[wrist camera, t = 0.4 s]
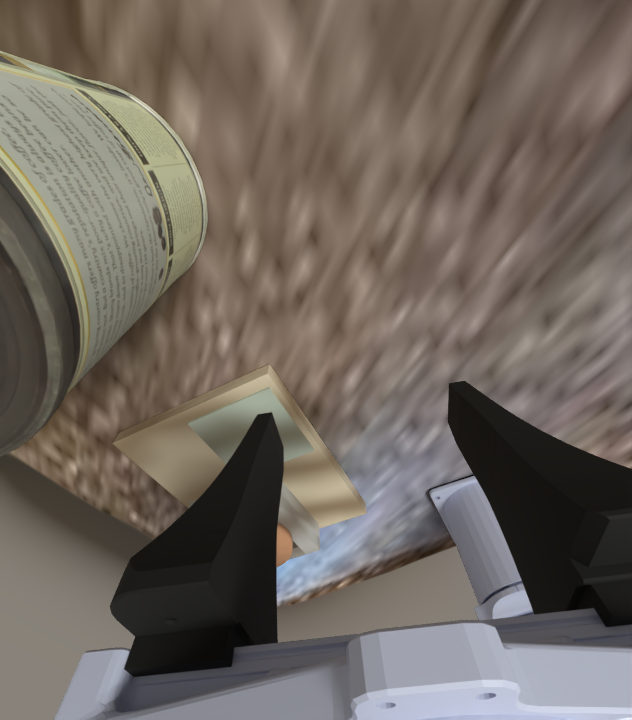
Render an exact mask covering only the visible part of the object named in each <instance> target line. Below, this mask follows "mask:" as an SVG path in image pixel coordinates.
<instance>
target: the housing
mask: <svg viewBox="0 0 632 720" xmlns="http://www.w3.org/2000/svg"><path fill="white" fill-rule="evenodd" d="M269 412H272V414H273V417H274V420H275V423H276V426H277V429H278V432H279V435H280V438H281V441H282V444H283V447H284V472H283V482H282V490H281V499H280V507H279V515H278V523H279V524H281V525H283V526H284V527H285V528H286V529H288V531H289V532H290V533H291V535H292V539H293V547H292V554H291V557H290V558H289V559H292V558H296V557H299V556H302V555H305V554H309V553H312V552H315V551H318V550H320V540H319V529H320V528H323V527H326V526H329V525H332V524H335V523H338V522H341V521H344V520H348V519H351V518H354V517H357V516H360V515H363V514H366V513H367V512H366V506H365V502H364V500H363V499H362V497H361V496H360V494H359V493H358V491H357V490H356V489H355V487H354V486H353V484H352V483H351V481H350V480H349V478H348V477H347V476H346V474H345V473H344V471H343V470H342V468H341V467H340V465H339V464H338V463H337V461H336V460H335V458H334V457H333V455H332V454H331V453H330V451H329V450H328V448H327V447H326V445H325V444H324V442H323V441H322V440H321V438H320V437H319V435H318V434H317V432H316V431H315V429H314V428H313V427H312V425H311V424H310V422H309V421H308V419H307V418H306V416H305V415H304V414H303V412H302V411H301V409H300V408H299V406H298V405H297V403H296V402H295V401H294V399H293V398H292V396H291V395H290V393H289V392H288V390H287V389H286V388H285V386H284V385H283V383H282V382H281V380H280V379H279V377H278V376H277V375H276V373H275V372H274V370H273V369H272V367H271V366H270V364H268V365H266V366H264V367H262V368H260V369H258V370H255V371H253V372H251V373H249V374H247V375H244V376H242V377H240V378H238V379H236V380H233V381H231V382H229V383H227V384H225V385H222V386H220V387H218V388H216V389H214V390H211V391H209V392H207V393H205V394H203V395H200V396H198V397H196V398H194V399H192V400H189V401H187V402H185V403H183V404H181V405H179V406H176V407H174V408H172V409H170V410H168V411H165V412H163V413H161V414H159V415H157V416H154V417H152V418H150V419H148V420H146V421H143V422H141V423H139V424H137V425H135V426H132V427H130V428H128V429H126V430H124V431H121V432H119V434H118V435H117V437H116V438H115V440H114V441H113V443H112V444H113V445H115V446H116V447H117V448H118V449H119V450H120V451H122V452H123V453H124V454H125V455H126V456H127V457H129V458H130V459H131V460H132V461H133V462H134V463H136V464H137V465H138V466H139V467H140V468H142V469H143V470H144V471H145V472H146V473H147V474H149V475H150V476H151V477H152V478H153V479H154V480H156V481H157V482H158V483H159V484H160V485H161V486H163V487H164V488H165V489H166V490H167V491H168V492H170V493H171V494H172V495H173V496H174V497H175V498H177V499H178V500H179V501H180V502H181V503H182V504H184V505H185V506H186V507H187V508H188V509H189V508H190V507H191V506H192V505H193V504H194V502H195V501H196V500H197V499H198V498H199V497H200V496H201V495H202V494H203V493H204V492H205V491H206V490H207V488H208V487H209V486H210V485H211V484H212V482H213V481H214V480H215V479H216V477H217V476H218V475H219V473H220V472H221V471H222V469H223V468H224V467H225V465H226V464H227V462H228V461H229V460H230V458H231V457H232V455H233V454H234V452H235V451H236V449H237V447H238V446H239V444H240V443H241V441H242V440H243V438H244V436H245V435H246V433H247V431H248V429H249V428H250V426H251V424H252V423H253V421H254V419H255V417H256V416H257V415H258V414H263V413H269ZM289 559H288V560H289Z"/></svg>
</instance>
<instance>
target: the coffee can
mask: <svg viewBox="0 0 632 720" xmlns="http://www.w3.org/2000/svg"><path fill="white" fill-rule="evenodd" d="M207 224H208V213H207V202H206V196H205V191H204V187H203V184H202V180H201V177H200V175H199V172H198V170H197V168H196V165H195V163H194V161H193V159H192V157H191V155H190V154H189V152H188V150H187V149H186V147H185V146H184V144H183V142H182V140H181V139H180V137H179V136H178V135H177V134H176V133H175V132H174V131H173V130H172V128H171V127H170V126H169V125H168V124H167V122H166V121H165V120H164V119H163V118H162V117H160V116H159V115H158V114H157V113H156V112H155V111H154V110H153V109H152V108H150V107H149V106H148V105H146V104H145V103H144V102H142V101H141V100H139V99H138V98H136V97H135V96H133V95H131V94H129V93H127V92H126V91H124V90H122V89H119V88H117V87H115V86H112V85H110V84H106V83H104V82H101V81H94V80H89V79H84V78H81V77H77V76H74V75H71V74H68V73H65V72H62V71H59V70H56V69H53V68H50V67H47V66H44V65H40V64H37V63H34V62H31V61H28V60H25V59H22V58H19V57H16V56H13V55H10V54H7V53H4V52H2V51H0V456H3V455H5V454H7V453H9V452H11V451H13V450H15V449H17V448H19V447H20V446H22V445H23V444H24V443H26V442H27V441H28V440H29V439H31V438H32V437H33V436H34V435H35V434H36V433H37V432H38V431H39V430H40V429H41V428H42V427H43V426H44V425H45V424H46V423H47V422H48V420H49V419H50V418H51V416H52V415H53V414H54V413H55V411H56V410H57V409H58V408H59V406H60V404H61V402H62V401H63V399H64V397H65V396H66V394H67V393H68V392H69V391H70V390H71V389H72V388H73V387H74V386H75V385H76V384H77V383H78V382H79V381H80V380H81V379H82V378H83V377H84V376H85V375H86V374H87V373H88V371H89V370H90V369H91V368H92V367H93V366H94V365H95V364H96V363H97V362H98V361H99V360H100V359H101V358H102V357H103V356H104V355H105V354H106V353H107V352H108V351H109V350H110V348H111V347H112V346H113V345H114V344H115V343H116V342H117V341H118V340H119V339H120V338H121V337H122V336H123V335H124V334H125V333H126V332H127V331H128V330H129V329H130V328H131V326H132V325H133V324H134V323H135V322H136V321H137V320H138V319H139V318H140V317H141V316H142V315H143V314H144V313H145V312H146V311H147V310H148V309H149V308H150V307H151V306H152V304H153V303H154V302H155V301H156V300H157V299H158V298H159V297H160V296H161V295H162V294H163V293H164V292H165V291H166V290H167V289H168V288H169V287H170V286H171V285H172V283H173V282H174V281H175V280H176V279H178V278H179V277H180V276H182V275H183V274H184V273H185V272H186V271H187V270H188V269H189V268H190V267H191V265H192V264H193V263H194V261H195V260H196V258H197V256H198V255H199V253H200V251H201V248H202V245H203V243H204V239H205V235H206V230H207Z"/></svg>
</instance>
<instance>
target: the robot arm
mask: <svg viewBox="0 0 632 720" xmlns="http://www.w3.org/2000/svg"><path fill="white" fill-rule="evenodd" d="M448 423H449V426H450V428H451V431H452V434H453V436H454V438H455V441H456V443H457V445H458V447H459V449H460V451H461V453H462V454H463V456H464V458H465V460H466V462H467V463H468V465H469V467H470V469H471V470H472V472H473V474H474V476H472V477H469V478H465V479H462V480H459V481H456V482H453V483H450V484H447V485H444V486H441V487H438V488H435V489H432V490H431V491H430V492H429V493H430V496H431V498H432V500H433V502H434V504H435V506H436V508H437V510H438V512H439V514H440V516H441V518H442V520H443V522H444V524H445V526H446V528H447V529H448V531H449V533H450V535H451V537H452V539H453V541H454V542H455V544H456V546H457V548H458V551H459V554H460V556H461V559H462V562H463V564H464V567H465V569H466V572H467V575H468V577H469V580H470V583H471V585H472V588H473V590H474V593H475V596H476V598H477V601H478V603H479V606H477V607H475V608H474V609H475V612H476V615H477V618H478V620H459V621H450V622H441V623H432V624H422V625H413V626H404V627H395V628H386V629H378V630H373V631H369V632H364V633H361V634H354V635H345V636H335V637H326V638H318V639H308V640H299V641H290V642H281V643H278V640H277V593H276V556H277V525H278V515H279V507H280V499H281V490H282V482H283V472H284V447H283V444H282V441H281V438H280V435H279V432H278V429H277V426H276V423H275V420H274V417H273V414H272V412H269V413H263V414H258V415H257V416H256V417H255V419H254V421H253V423H252V424H251V426H250V428H249V429H248V431H247V433H246V435H245V436H244V438H243V440H242V441H241V443H240V444H239V446H238V447H237V449H236V451H235V452H234V454H233V455H232V457H231V458H230V460H229V461H228V462H227V464H226V465H225V467H224V468H223V469H222V471H221V472H220V473H219V475H218V476H217V477H216V479H215V480H214V481H213V482H212V484H211V485H210V486H209V487H208V488H207V490H206V491H205V492H204V493H203V494H202V495H201V496H200V497H199V498H198V499H197V500H196V501H195V502H194V504H193V505H192V506H191V507H190V508H189V509H188V510H187V511H186V512H185V513H184V514H183V515H182V516H181V517H180V518H178V519H177V520H176V521H175V522H174V523H173V524H172V525H171V526H170V527H169V528H167V529H166V530H165V531H164V532H163V533H162V534H161V535H159V536H158V537H157V538H156V539H154V540H153V541H152V542H151V543H149V544H148V545H147V546H146V547H144V548H143V549H142V550H141V551H139V552H138V553H137V554H136V555H134V556H133V557H131V559H130V561H129V563H128V565H127V567H126V569H125V571H124V573H123V576H122V578H121V581H120V583H119V586H118V588H117V590H116V593H115V595H114V597H113V600H112V602H111V605H110V609H111V612H112V614H113V616H114V617H115V618H116V620H117V621H119V622H120V623H121V624H122V625H123V626H124V627H125V628H126V629H128V630H129V631H130V632H131V633H132V634H133V635H134V636H135V639H134V642H133V645H132V648H131V650H130V649H127V648H109V649H101V650H91V651H86V652H85V653H83V655H82V657H81V659H80V662H79V664H78V666H77V668H76V670H75V673H74V675H73V677H72V680H71V682H70V684H69V687H68V689H67V691H66V693H65V696H64V698H63V700H62V702H61V704H60V707H59V709H58V711H57V713H56V716H55V718H54V720H632V469H630V468H627V467H624V466H622V465H619V464H616V463H613V462H610V461H608V460H605V459H603V458H600V457H597V456H595V455H593V454H590V453H588V452H585V451H583V450H581V449H578V448H576V447H574V446H572V445H569V444H567V443H565V442H563V441H561V440H559V439H557V438H555V437H553V436H551V435H549V434H547V433H545V432H543V431H541V430H539V429H537V428H536V427H534V426H532V425H530V424H529V423H527V422H525V421H524V420H522V419H520V418H518V417H517V416H515V415H514V414H512V413H510V412H509V411H507V410H506V409H504V408H503V407H501V406H500V405H498V404H497V403H495V402H494V401H492V400H491V399H490V398H488V397H487V396H485V395H484V394H482V393H481V392H480V391H478V390H477V389H475V388H474V387H473V386H471V385H470V384H468V383H467V382H466V381H461V382H455V383H449V401H448Z"/></svg>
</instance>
